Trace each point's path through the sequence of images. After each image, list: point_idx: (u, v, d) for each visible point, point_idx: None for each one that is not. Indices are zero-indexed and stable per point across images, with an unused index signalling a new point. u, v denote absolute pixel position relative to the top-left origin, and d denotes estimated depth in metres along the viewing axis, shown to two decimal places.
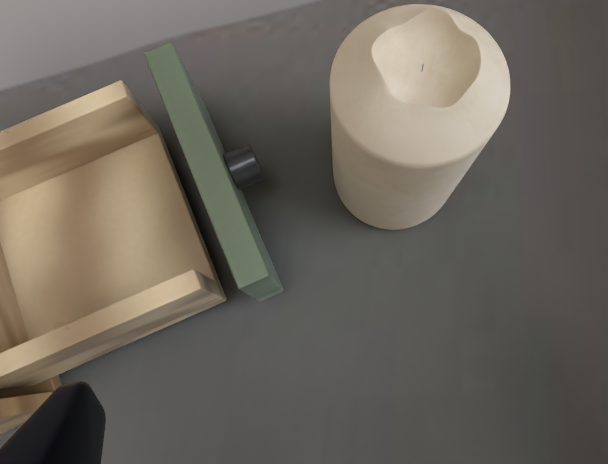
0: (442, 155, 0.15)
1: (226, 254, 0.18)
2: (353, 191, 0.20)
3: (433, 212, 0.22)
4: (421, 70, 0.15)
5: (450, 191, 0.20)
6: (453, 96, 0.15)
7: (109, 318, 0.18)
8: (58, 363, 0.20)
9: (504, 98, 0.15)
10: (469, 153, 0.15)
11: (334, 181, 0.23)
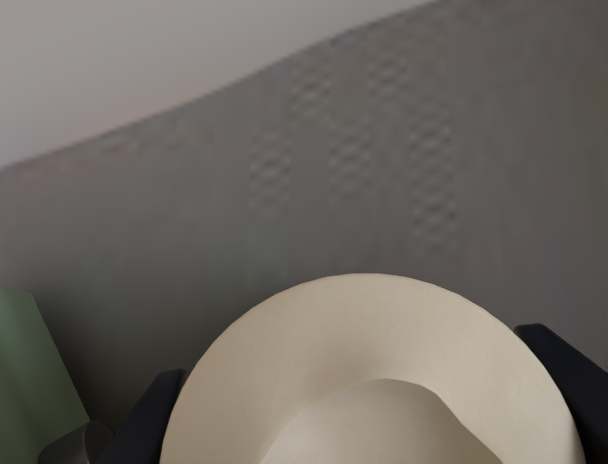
0: None
1: None
2: None
3: None
4: None
5: None
6: None
7: None
8: None
9: None
10: None
11: None
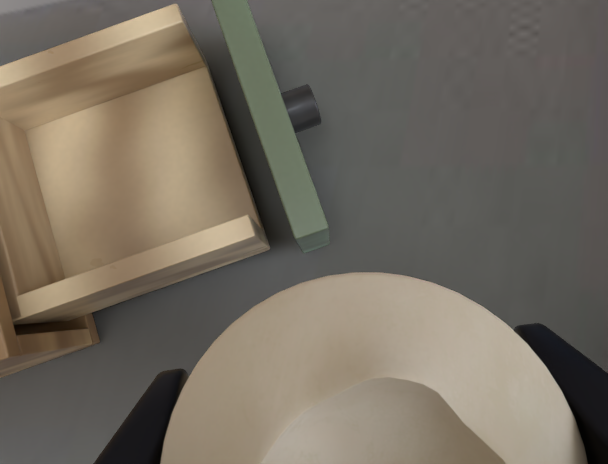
0: None
1: (284, 201, 0.17)
2: None
3: None
4: None
5: None
6: None
7: (157, 259, 0.17)
8: (97, 301, 0.19)
9: None
10: None
11: None
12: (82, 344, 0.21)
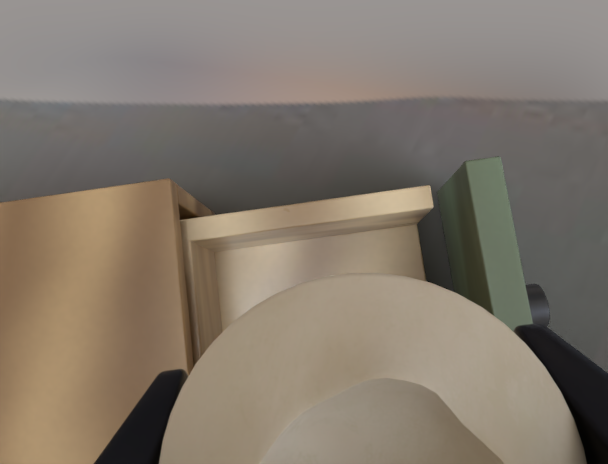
0: None
1: None
2: None
3: None
4: None
5: None
6: None
7: None
8: None
9: None
10: None
11: None
12: None
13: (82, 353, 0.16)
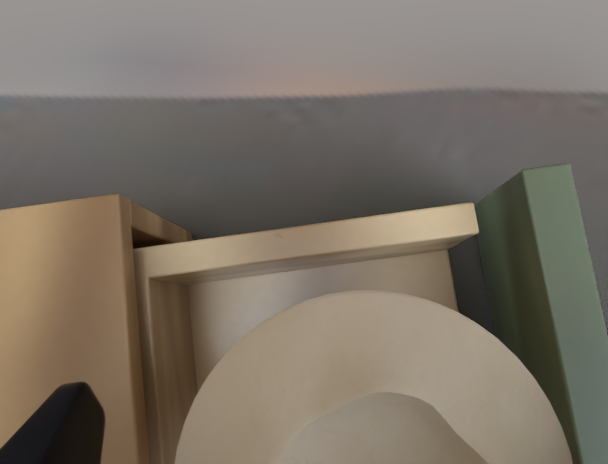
0: None
1: None
2: None
3: None
4: None
5: None
6: None
7: None
8: None
9: None
10: None
11: None
12: None
13: None
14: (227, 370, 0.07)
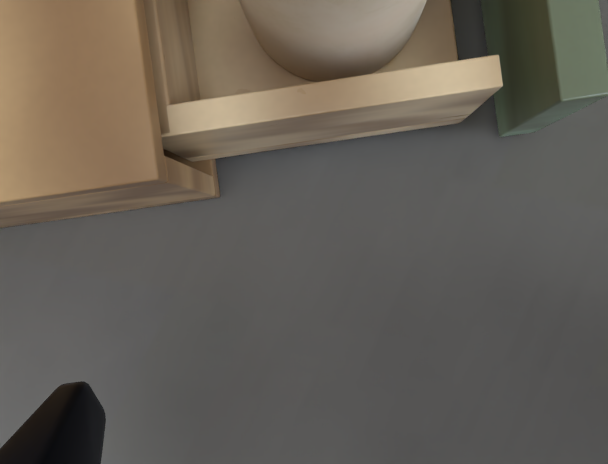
0: None
1: (556, 46, 0.12)
2: (262, 20, 0.13)
3: (396, 46, 0.14)
4: None
5: (417, 2, 0.12)
6: None
7: (363, 92, 0.13)
8: (251, 139, 0.15)
9: None
10: None
11: None
12: (208, 193, 0.17)
13: None
14: None
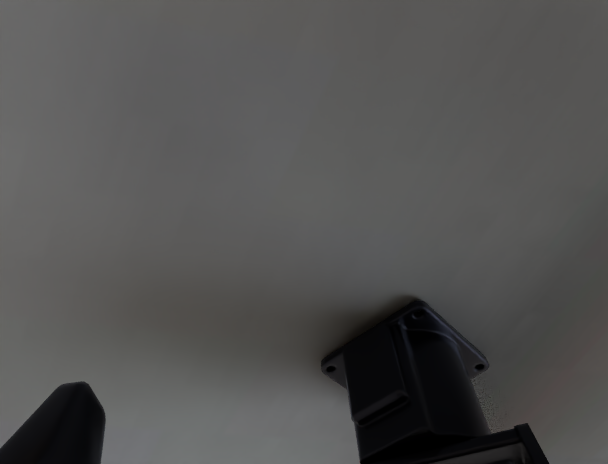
0: None
1: None
2: None
3: None
4: None
5: None
6: None
7: None
8: None
9: None
10: None
11: None
12: None
13: None
14: None
